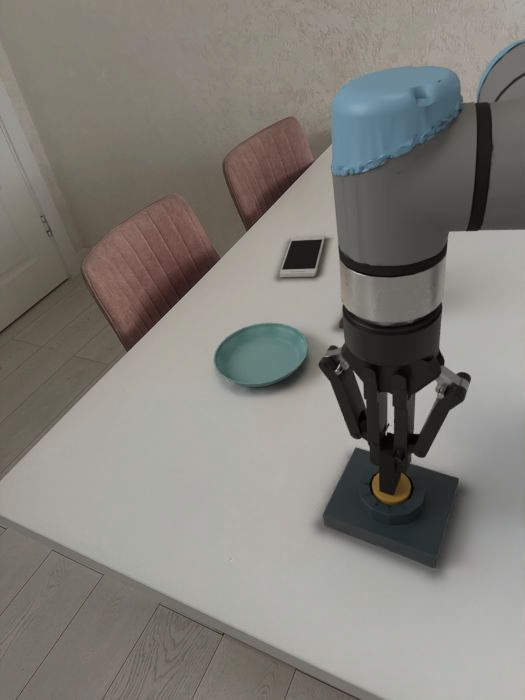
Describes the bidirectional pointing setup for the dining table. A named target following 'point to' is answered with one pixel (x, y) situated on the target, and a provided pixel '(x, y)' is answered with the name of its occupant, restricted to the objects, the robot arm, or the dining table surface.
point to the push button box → (393, 510)
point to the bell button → (399, 496)
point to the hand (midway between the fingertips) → (390, 483)
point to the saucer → (261, 354)
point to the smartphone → (302, 256)
